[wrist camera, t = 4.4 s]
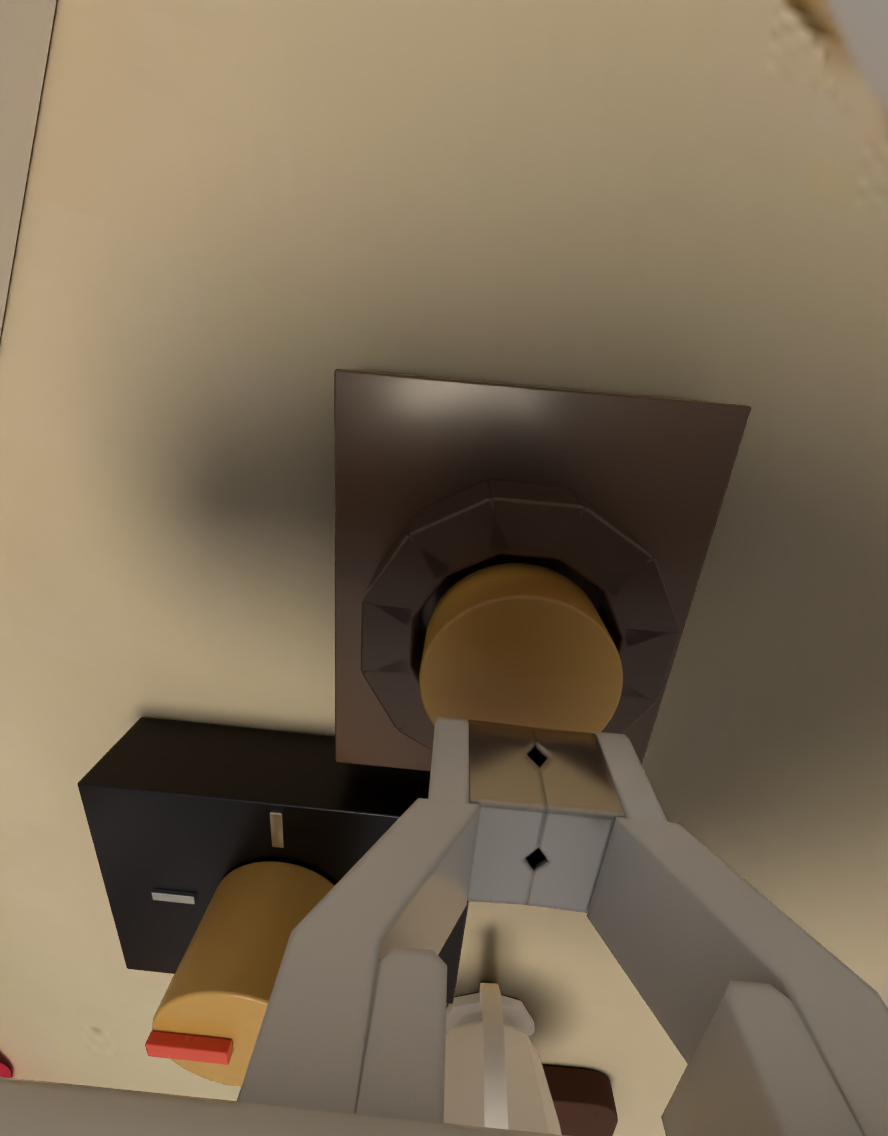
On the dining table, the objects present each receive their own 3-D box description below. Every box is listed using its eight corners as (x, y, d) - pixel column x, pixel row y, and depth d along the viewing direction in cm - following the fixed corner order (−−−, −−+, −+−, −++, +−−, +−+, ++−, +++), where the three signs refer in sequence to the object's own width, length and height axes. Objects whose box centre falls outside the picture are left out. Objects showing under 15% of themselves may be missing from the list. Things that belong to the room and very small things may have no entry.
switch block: (705, 401, 12) (808, 411, 9) (613, 740, 16) (655, 848, 13) (355, 369, 12) (307, 366, 9) (351, 714, 16) (317, 813, 13)
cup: (415, 1055, 24) (391, 1359, 17) (407, 926, 20) (371, 1242, 13) (556, 1063, 24) (595, 1378, 16) (573, 933, 20) (634, 1263, 13)
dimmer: (478, 750, 17) (480, 829, 14) (455, 918, 20) (452, 1009, 17) (141, 716, 17) (72, 787, 14) (173, 888, 20) (123, 974, 17)
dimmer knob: (350, 867, 15) (313, 1020, 11) (349, 955, 17) (316, 1112, 13) (210, 853, 15) (130, 1000, 11) (222, 942, 17) (156, 1094, 13)
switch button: (618, 571, 10) (646, 607, 9) (582, 721, 12) (600, 776, 10) (432, 553, 10) (425, 586, 9) (420, 705, 12) (413, 757, 10)
